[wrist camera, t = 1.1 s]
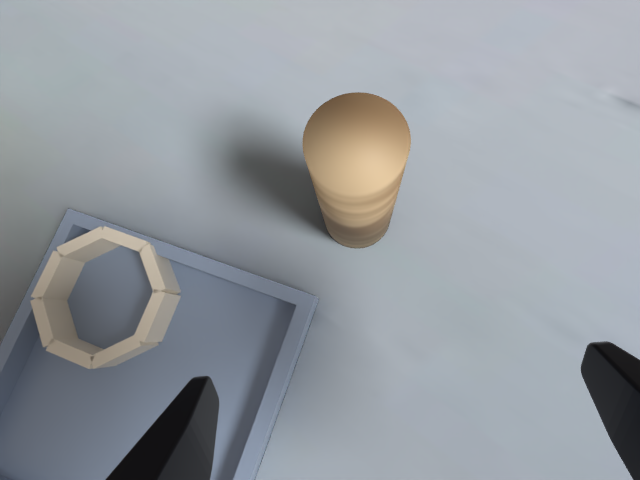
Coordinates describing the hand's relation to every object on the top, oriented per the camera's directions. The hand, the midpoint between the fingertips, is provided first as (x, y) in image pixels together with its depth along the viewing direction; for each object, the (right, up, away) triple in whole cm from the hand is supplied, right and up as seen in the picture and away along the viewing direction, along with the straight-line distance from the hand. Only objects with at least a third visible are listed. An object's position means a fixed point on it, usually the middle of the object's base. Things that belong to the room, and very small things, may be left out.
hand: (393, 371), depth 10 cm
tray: (-12, -5, +14) cm, 19 cm away
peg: (0, +5, +15) cm, 16 cm away
